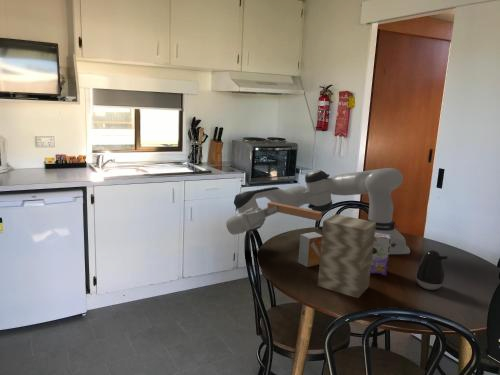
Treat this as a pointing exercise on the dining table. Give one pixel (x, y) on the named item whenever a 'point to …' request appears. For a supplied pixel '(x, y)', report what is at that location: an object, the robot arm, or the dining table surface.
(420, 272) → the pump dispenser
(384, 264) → the candy box
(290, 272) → the dining table surface
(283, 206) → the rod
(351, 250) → the stand
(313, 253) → the small box
